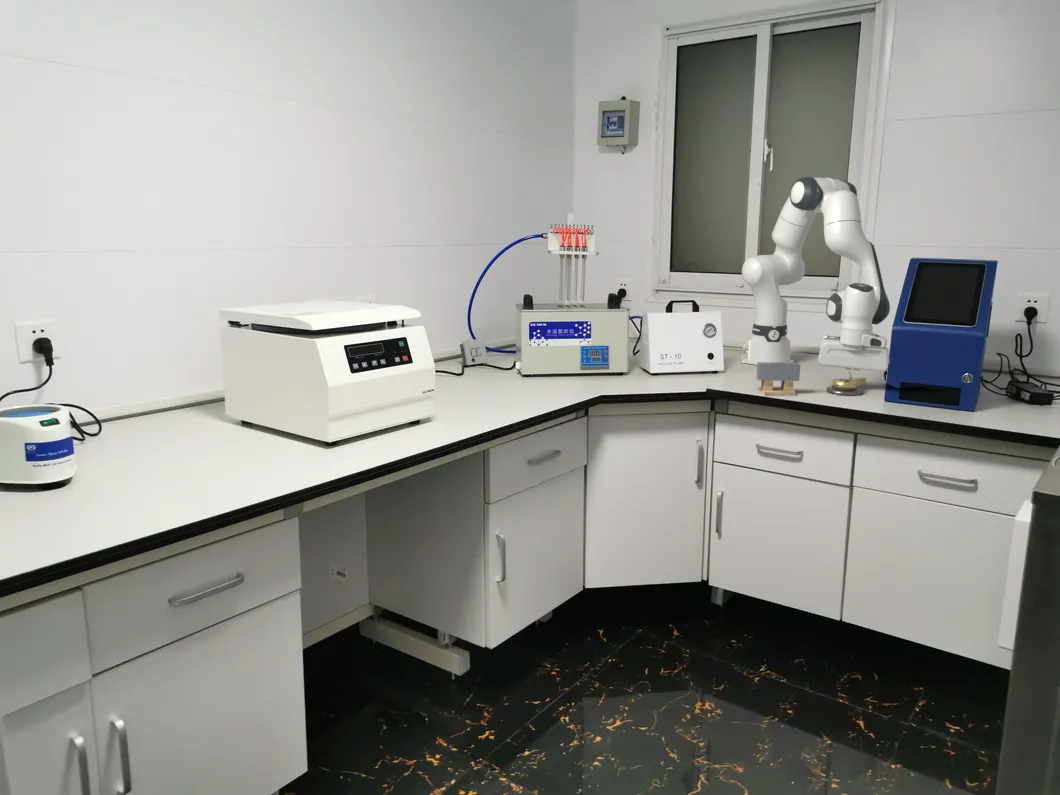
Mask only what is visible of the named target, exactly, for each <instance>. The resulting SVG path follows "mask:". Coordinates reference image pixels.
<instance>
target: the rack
mask: <svg viewBox="0 0 1060 795" xmlns="http://www.w3.org/2000/svg"><path fill="white" fill-rule="evenodd" d="M760 381H761V383H760V384H761V385H760V386H758V387H757V390H758V389H759V390H760V391H761V392H763V393H764V394H765V395H764V394H763V393H762V394H763V395H764V396H784V395H795V396H796V394H797V393H796V391H795V390H794V381H781V382H780V386H774V381H773V380H760ZM759 390H758V391H759ZM760 391H759V392H760ZM761 392H760V393H761Z"/></svg>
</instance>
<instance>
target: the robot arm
mask: <svg viewBox="0 0 1060 795" xmlns="http://www.w3.org/2000/svg"><path fill="white" fill-rule="evenodd" d="M817 214H822V215H823V216H822V217H823V236H824V242H825V245H826V246H827V248H828V249H829V250H830V251H831V252H833V253H835V254H836V255H838V256H841V257H844V258H847V259H849V260H851V261H853V262H854V263H856V264H857V265H858V266H859V268H860V270H861V271H862V272H861V273H862V277H863V282H864V283H860V282H854V283H850V284H847V287H846V288H845V289H844V290H841V291H839V292H834V293H833V294H831V295H830V297H829V298H828V299H827V301H826V309H825V310H826V311H825V313H826V315H827V317H828V318H829V319H830V320H831V321H832V322H834V323H838V324H839V323H840V324H841V327H840V334H839V336H836V335H835V336H831V335H830V336H829V335H824V336H822V337H821V338H820V339H819V340H818V348H819V353H818V358H817V363H818V365H819V366H822V367H833V368H843V369H844V371H845V374H846V375H847V379H854V378H856V376H857V374H859V371H860V370H866V371H876V372H877V371H878V372H884V371H887V370H888V364H889V365H890V350H889V348H888V347H887V345H888V339H887V337H884V336H882V335H879V334H877V333H874V332H873V325H880V324H881V323H882V322H883V321H885V319H886V318H887V317H888V316H889V314H890V310H891V305H890V304H891V303H890V301H889V298H888V295H887V293H886V289H885V287H884V283H883V282H884V281H883V276H882V272H881V269H880V264H879V259H878V255H877V252H876V248H875V245H874V244H873V243H872V242H871V241H869V240H868V238H867V237H866V235H865V233H864V231H863V226H862V215H861V214H862V213H861V208H860V203H859V200H858V192H857V188H856V186H855V185H854V184H852V183H851V182H849V181H847V180H844V179H843V180H840V179H837V178H831V177H813V176H803V177H799V178H797V179H796V180H795V181H794V182H793V184H792V185H791V188H790V192H789V196H788V198H787V200H785V203H784V204H783V207H782V208H781V211H780V213H779V215H778V218H777V220H776V223H775V226H774V228H773V230H772V232H771V238H772V241H773V243H774V244H775V249H774V250H775V251H774V253H772V254H760V255H756V256H752V257H750V258H747V259H745V261H744V262H743V265H742V268H741V277H742V279H743V280H744V283H746V284H747V285H748V286H749V289H750V290H751V291H752V295H753V298H754V323H753V324H752V328H751V333H752V334H751V336H750V338H749V339H748V341H747V342H746V343H743V344H742V350H743V351H745V353H741V354H740V362H741V363H742V364H747V365H749V364H750V365H754V366H755V365H756V366H757V362H786V363H795V361H794V359H791V340H790V339H789V338H788V337H787V335H788V325H787V318H788V317H787V315H788V303H787V301H786V300H785V299H784V298H783V297H782V295H781V293H780V288H779V287H780V286H789V285H792V284H795V283H797V282H800V281H801V280H802V279H803V278H804V277H805V273H806V264H805V262H804V260H803V258H802V253H803V252H802V251H803V246H804V243H805V240H806V238H807V235H808V233H809V230H810V229H811V226H812V223H813V221H814V219H815V217H816V215H817ZM851 370H853V374H851Z"/></svg>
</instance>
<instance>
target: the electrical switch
mask: <svg viewBox="0 0 1060 795" xmlns="http://www.w3.org/2000/svg"><path fill="white" fill-rule="evenodd" d="M459 347H460V354H461V358H462V362H463V363H462V364H463V365H464V364H466V365H465V366H467V365H472V364H479V363H487V362H488V363H489V359H488V355H487V354H488V353H487V348H486V344H485V339H484V338H477V339H469V340H468V339H467V340H463V341H462V343H460V344H459ZM488 363H487V364H488Z"/></svg>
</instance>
